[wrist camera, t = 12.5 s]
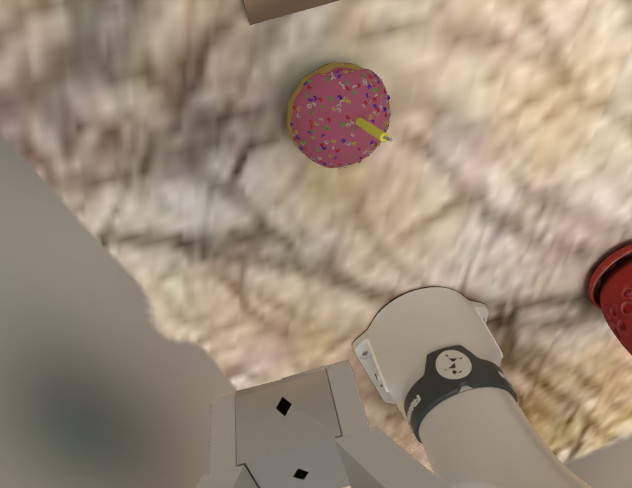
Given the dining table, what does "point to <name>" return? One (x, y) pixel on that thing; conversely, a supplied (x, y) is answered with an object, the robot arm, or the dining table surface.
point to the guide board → (277, 8)
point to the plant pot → (615, 293)
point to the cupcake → (339, 114)
